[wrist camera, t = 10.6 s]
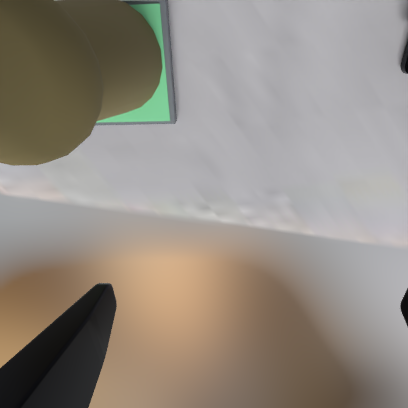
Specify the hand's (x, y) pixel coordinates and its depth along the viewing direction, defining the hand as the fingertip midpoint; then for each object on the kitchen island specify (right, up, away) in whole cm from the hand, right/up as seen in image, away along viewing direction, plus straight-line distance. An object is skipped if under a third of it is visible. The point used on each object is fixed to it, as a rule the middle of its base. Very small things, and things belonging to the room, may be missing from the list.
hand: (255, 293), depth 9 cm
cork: (-7, +11, +8) cm, 16 cm away
